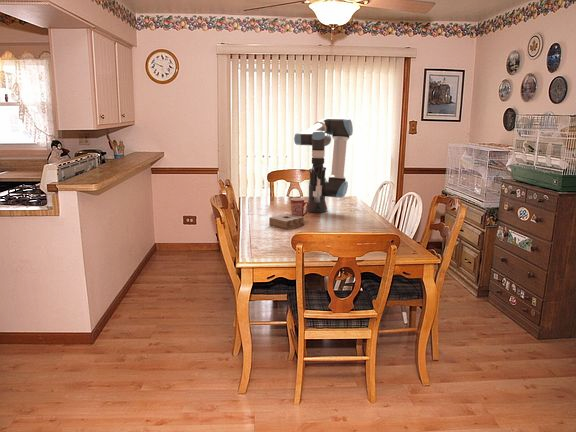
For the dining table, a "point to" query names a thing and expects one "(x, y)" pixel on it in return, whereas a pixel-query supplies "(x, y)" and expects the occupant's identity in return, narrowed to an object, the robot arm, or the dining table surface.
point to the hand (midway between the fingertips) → (317, 195)
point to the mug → (298, 206)
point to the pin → (317, 199)
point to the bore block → (286, 221)
